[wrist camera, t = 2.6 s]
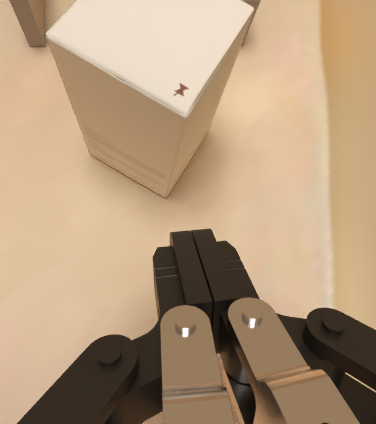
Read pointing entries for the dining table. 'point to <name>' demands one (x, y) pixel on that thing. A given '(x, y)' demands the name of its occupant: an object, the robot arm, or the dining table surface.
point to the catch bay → (35, 20)
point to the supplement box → (147, 78)
